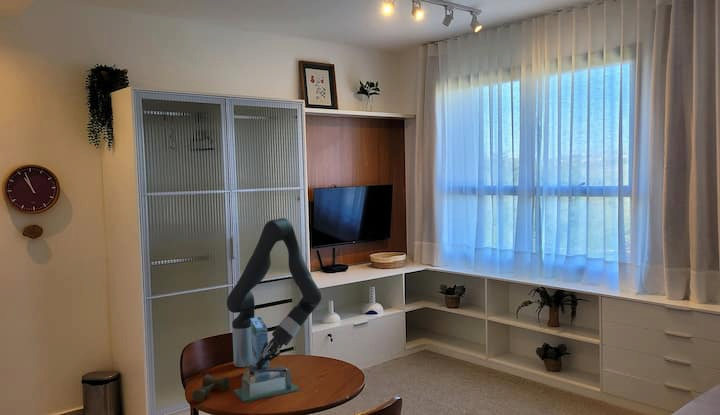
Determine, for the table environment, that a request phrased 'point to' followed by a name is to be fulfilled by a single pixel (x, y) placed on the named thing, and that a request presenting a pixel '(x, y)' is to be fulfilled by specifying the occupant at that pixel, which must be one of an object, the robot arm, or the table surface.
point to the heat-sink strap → (266, 369)
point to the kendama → (209, 387)
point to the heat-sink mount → (264, 385)
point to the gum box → (258, 340)
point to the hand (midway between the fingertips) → (257, 366)
